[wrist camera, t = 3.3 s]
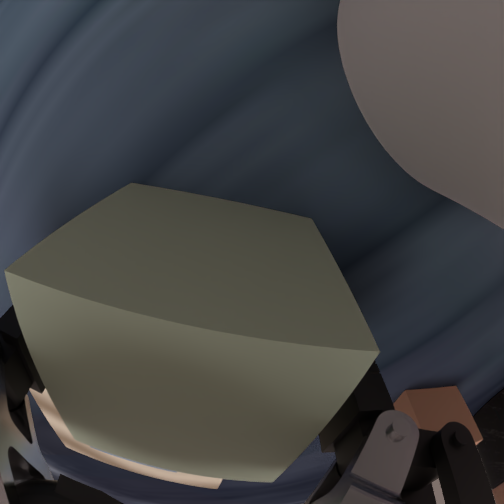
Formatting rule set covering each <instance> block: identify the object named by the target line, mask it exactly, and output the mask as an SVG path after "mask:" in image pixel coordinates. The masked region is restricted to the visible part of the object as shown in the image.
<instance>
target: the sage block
mask: <svg viewBox="0 0 504 504" xmlns="http://www.w3.org/2000/svg"><path fill="white" fill-rule="evenodd" d="M4 271H5V276H6V280H7V284H8V288H9V292H10V296H11V299H12V303H13V306H14V309H15V313H16V316H17V319H18V322H19V325H20V328H21V331H22V334H23V336H24V339H25V342H26V344H27V347H28V350H29V352H30V355H31V357H32V359H33V362H34V364H35V366H36V369H37V371H38V373H39V375H40V378H41V380H42V382H43V384H44V386H45V388H46V390H47V392H48V394H49V396H50V398H51V400H52V402H53V403H54V405H55V407H56V409H57V411H58V413H59V414H60V416H61V418H62V420H63V421H64V423H65V425H66V426H67V428H68V430H69V431H70V433H71V434H72V436H73V438H74V439H75V440H77V441H79V442H81V443H84V444H86V445H89V446H91V447H94V448H97V449H99V450H102V451H105V452H108V453H110V454H113V455H116V456H119V457H123V458H126V459H129V460H132V461H136V462H139V463H143V464H147V465H151V466H155V467H159V468H163V469H167V470H172V471H177V472H182V473H187V474H193V475H199V476H205V477H212V478H220V479H229V480H240V481H254V482H273V481H274V480H275V479H276V478H277V477H278V476H280V475H281V474H282V473H283V472H284V471H285V470H286V469H287V468H288V467H289V466H290V465H291V464H292V463H293V462H294V460H295V459H296V458H297V457H298V456H299V455H300V454H301V453H302V452H303V451H304V450H305V449H306V448H307V447H308V446H309V444H310V443H311V442H312V441H313V440H314V439H315V438H316V437H317V435H318V434H319V433H320V432H321V431H322V430H323V428H324V427H325V426H326V425H327V424H328V422H329V421H330V420H331V419H332V418H333V416H334V415H335V414H336V413H337V411H338V410H339V409H340V407H341V406H342V405H343V404H344V402H345V401H346V400H347V398H348V397H349V396H350V394H351V393H352V392H353V390H354V389H355V388H356V386H357V385H358V383H359V382H360V381H361V379H362V378H363V376H364V375H365V373H366V372H367V371H368V369H369V368H370V366H371V365H372V363H373V362H374V360H375V359H376V357H377V355H378V354H379V352H380V351H379V349H378V346H377V344H376V342H375V340H374V338H373V336H372V333H371V331H370V329H369V327H368V325H367V323H366V321H365V319H364V317H363V315H362V312H361V310H360V308H359V306H358V304H357V302H356V300H355V298H354V296H353V294H352V292H351V290H350V288H349V286H348V284H347V283H346V281H345V279H344V277H343V275H342V273H341V271H340V269H339V267H338V265H337V263H336V262H335V260H334V258H333V256H332V254H331V252H330V250H329V249H328V247H327V245H326V243H325V241H324V239H323V238H322V236H321V234H320V232H319V231H318V229H317V227H316V225H315V223H314V222H313V220H312V219H311V218H307V217H303V216H298V215H294V214H290V213H285V212H281V211H277V210H272V209H267V208H263V207H258V206H254V205H249V204H244V203H239V202H234V201H230V200H225V199H220V198H215V197H209V196H204V195H199V194H194V193H188V192H183V191H177V190H172V189H166V188H160V187H154V186H148V185H142V184H136V183H130V184H128V185H127V186H125V187H123V188H121V189H120V190H118V191H116V192H115V193H113V194H111V195H110V196H108V197H106V198H105V199H103V200H101V201H100V202H98V203H97V204H95V205H93V206H92V207H90V208H89V209H87V210H86V211H84V212H82V213H81V214H79V215H78V216H76V217H75V218H73V219H72V220H70V221H69V222H67V223H66V224H65V225H63V226H62V227H60V228H59V229H57V230H56V231H55V232H53V233H52V234H50V235H49V236H48V237H46V238H45V239H44V240H42V241H41V242H39V243H38V244H37V245H35V246H34V247H33V248H32V249H30V250H29V251H28V252H26V253H25V254H24V255H23V256H21V257H20V258H19V259H18V260H16V261H15V262H14V263H13V264H11V265H10V266H9V267H8V268H7V269H5V270H4Z"/></svg>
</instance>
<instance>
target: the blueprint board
mask: <svg viewBox="0 0 504 504" xmlns="http://www.w3.org/2000/svg"><path fill="white" fill-rule="evenodd" d="M29 390H30V392H31V393H32V395H33V397H34V399H35V400H36V402H37V404H38V405H39V407H40V409H41V410H42V412H43V414H44V415H45V417H46V418H47V420H48V421H49V423H50V425H51V426H52V428H53V429H54V430H55V432H56V433H57V435H58V436H59V438H60V439H61V440H62V442H63V443H64V445H65V446H66V447H68V448H70V449H72V450H74V451H77V452H79V453H81V454H84V455H86V456H89V457H91V458H94V459H97V460H99V461H102V462H105V463H107V464H110V465H113V466H116V467H119V468H122V469H126V470H129V471H132V472H136V473H139V474H143V475H146V476H150V477H154V478H158V479H163V480H167V481H172V482H176V483H182V484H187V485H193V486H199V487H205V488H213V489H217V488H218V487H219V485H220V483H221V481H222V479H220V478H212V477H205V476H199V475H193V474H187V473H182V472H177V471H172V470H167V469H163V468H159V467H155V466H151V465H147V464H143V463H139V462H136V461H132V460H129V459H126V458H123V457H119V456H116V455H113V454H110V453H108V452H105V451H102V450H99V449H97V448H94V447H91V446H89V445H86V444H84V443H81V442H79V441H77V440H75V439H74V438H73V436H72V434H71V433H70V431H69V430H68V428H67V426H66V425H65V423H64V421H63V420H62V418H61V416H60V414H59V413H58V411H57V409H56V407H55V405H54V403H53V402H52V400H51V398H50V396H49V394H48V392H47V390H46V388H45V390H44V391H43V393H42V394H41V393H39V392H37V391H35V390H33V389H31V388H30V389H29Z"/></svg>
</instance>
